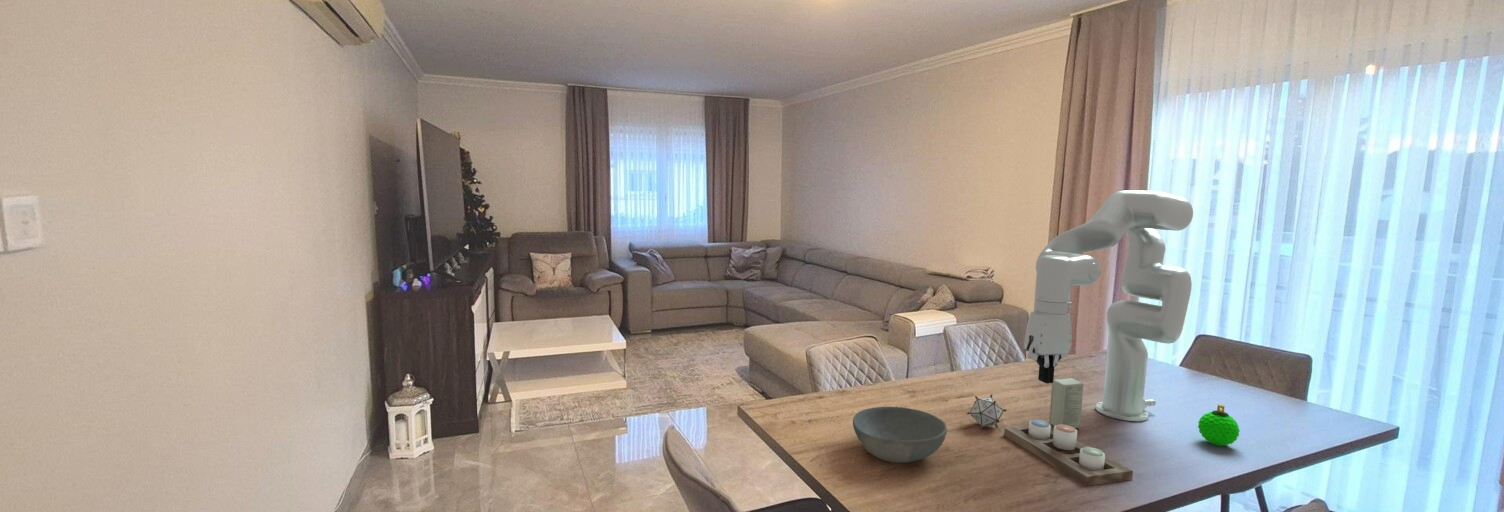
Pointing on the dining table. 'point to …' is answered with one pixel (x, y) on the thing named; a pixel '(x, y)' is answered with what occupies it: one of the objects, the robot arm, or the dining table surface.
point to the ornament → (1218, 427)
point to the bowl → (899, 433)
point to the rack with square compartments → (1068, 458)
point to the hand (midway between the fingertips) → (1045, 381)
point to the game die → (986, 411)
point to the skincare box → (1066, 402)
